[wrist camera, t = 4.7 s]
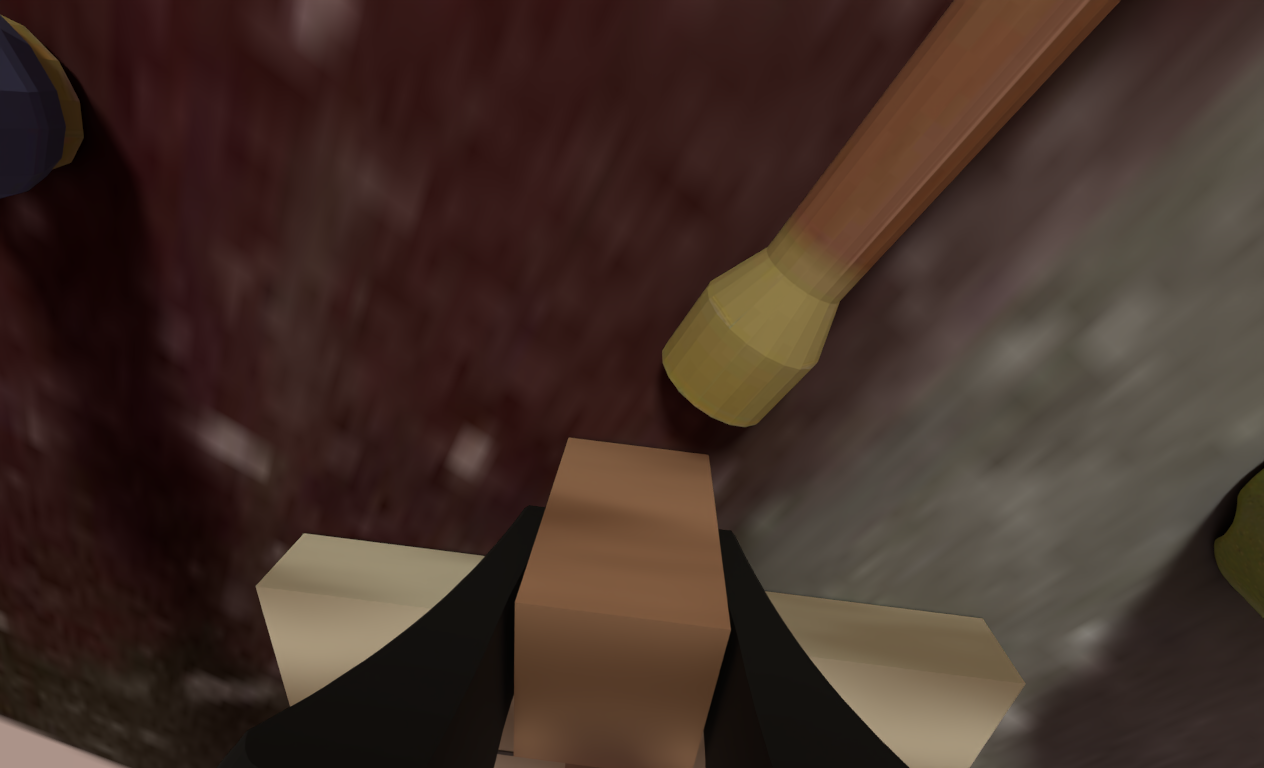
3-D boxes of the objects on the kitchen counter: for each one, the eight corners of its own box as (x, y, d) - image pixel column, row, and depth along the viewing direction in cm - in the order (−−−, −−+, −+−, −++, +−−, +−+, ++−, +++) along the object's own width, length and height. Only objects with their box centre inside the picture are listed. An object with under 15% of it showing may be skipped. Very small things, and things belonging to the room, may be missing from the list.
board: (876, 805, 19) (898, 875, 18) (348, 737, 20) (315, 799, 18) (983, 618, 15) (1026, 685, 13) (304, 533, 15) (254, 587, 13)
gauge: (653, 725, 18) (648, 929, 14) (552, 712, 18) (512, 911, 14) (708, 454, 13) (730, 629, 9) (569, 437, 13) (514, 602, 9)
